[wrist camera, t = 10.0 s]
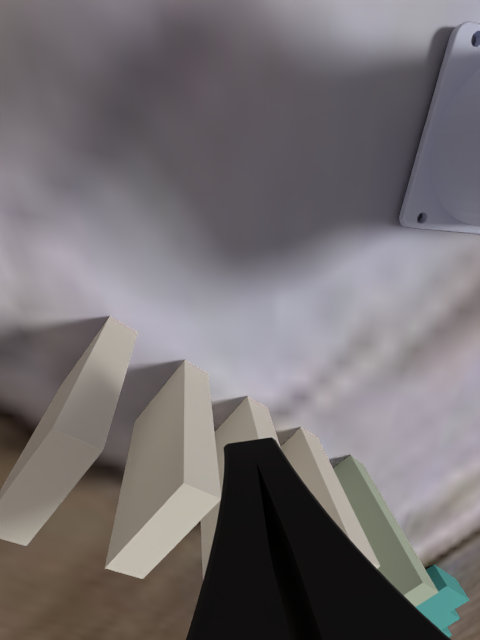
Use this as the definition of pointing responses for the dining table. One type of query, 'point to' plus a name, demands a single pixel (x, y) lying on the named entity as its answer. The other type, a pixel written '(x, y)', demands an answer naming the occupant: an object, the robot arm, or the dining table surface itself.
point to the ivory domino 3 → (238, 427)
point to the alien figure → (443, 600)
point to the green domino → (384, 533)
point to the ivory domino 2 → (166, 474)
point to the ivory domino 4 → (325, 486)
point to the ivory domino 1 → (67, 435)
